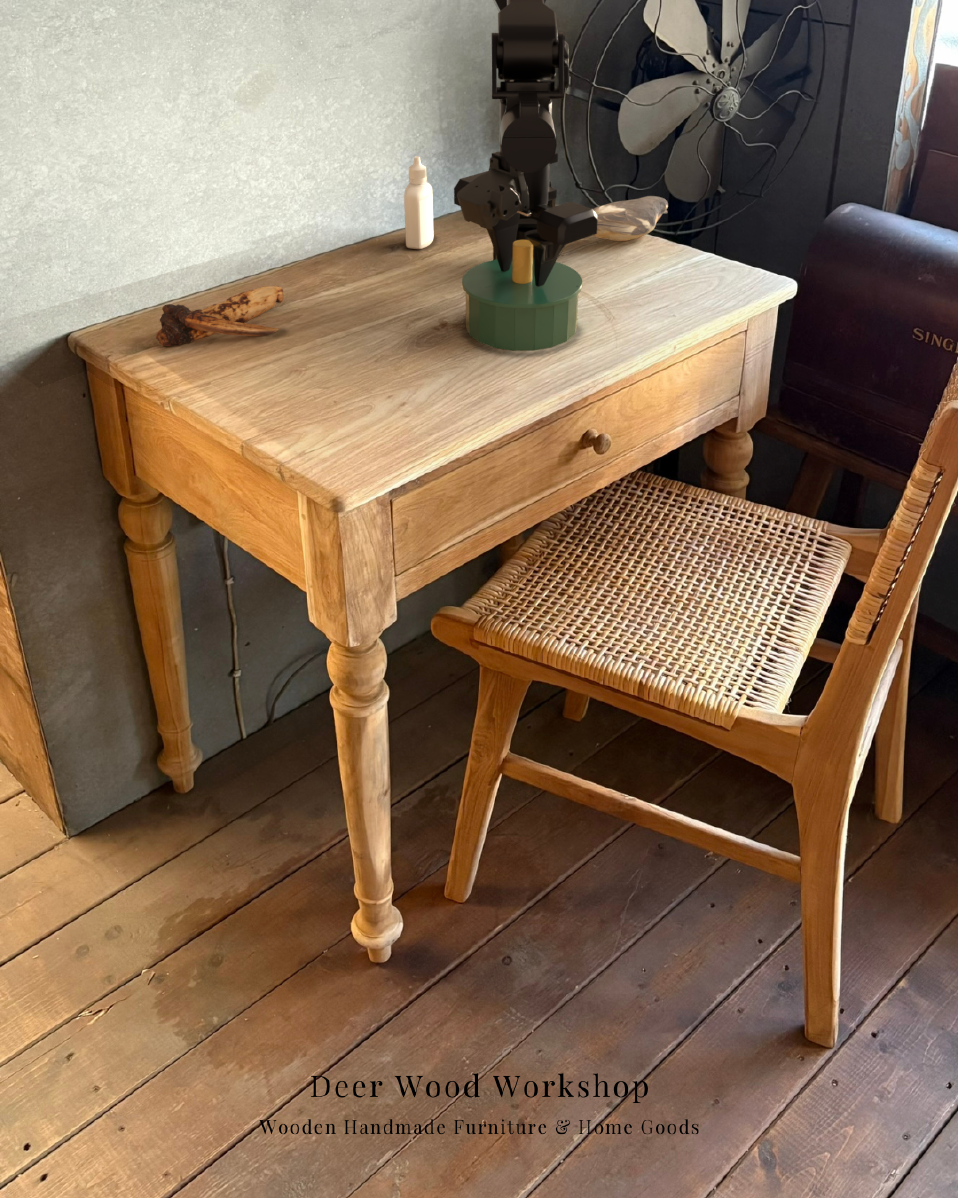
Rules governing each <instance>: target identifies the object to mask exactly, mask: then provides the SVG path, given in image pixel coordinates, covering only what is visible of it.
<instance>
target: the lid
mask: <svg viewBox="0 0 958 1198" xmlns="http://www.w3.org/2000/svg"><path fill="white" fill-rule="evenodd" d="M583 282H584V281H583V277H582V276H581V275H580V273H579V272H578V271H577V270H576V269H574V268H572V267H571V266H570V265H569V266H568V265H566V264H564V263H561V262H558V261H556V263H555V264H554V266H553V268H552V270H551V272H550V274H549V276H548V278H547V280H546V282H545V284H544V285H542V286H540V287H537V286H536V285H535V276H534V258H533V244H532V243H531V242H530V241H529V240H517V241H514V242H513V257H512V262H511V266H510V269H509V270H508V271H505V272H503V271H501V269H500V266H499V263H498V260H493V259H492V260H488V261H484V262H481V263H479V264H476V265H475V266H472V267H471V268H469V269H468V270H467V271H466V272H465V273H464V274H463V276H462V278H461V286H462V289H463V291H464V292H465V294H466V293H467V294H468V295H469V296H471V297H472V298H474V299H476V300H478V301H480V302H483V303H486V304H490V305H494V306H499V307H506V308H518V309H529V308H541V307H548V306H553V305H557V304H560V303H563V302H566V301H568V300H570V299H572V298H574V297H575V296H576V295H578V296H579V294H580V293H581V291H582V289H583Z"/></svg>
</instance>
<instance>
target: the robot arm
mask: <svg viewBox="0 0 958 1198" xmlns="http://www.w3.org/2000/svg"><path fill="white" fill-rule="evenodd" d="M492 2H493V3H494V6H495V7H496V9H497V11H498V13H497V32H491V39H490V40H491V41H490V42H491V44H490V49H491V50H490V51H491V52H490V53H491V54H490V56H491V59H490V60H491V61H490V62H491V66H490V67H491V71H490V73H491V100H499V149H498V151H495V152H492V153H491V157H490V158H489V168H488V170H486V171H483V172H479V173H475V174H472V175H468V176H465V177H461V178H459V179H458V181H457V183H456V184H455V186H454V188H453V204H454V205H456V206H458V207H460V209H461V210H460V211H461V213H462V216H463V220H464V221H465V222H468V223H470V222H471V223H473V224H476V225H477V226H479V227H480V228H483V229H486V232H487V234H488V236H489V239H490V241H491V245H492V260H498V263H499V266H500V269H501V271H503V272H505V271H508V270H509V269H510V266H511V262H512V257H513V242H514V241H517V240H529V241H530V242H531V243H532V244H533V258H534V276H535V285H536V286H537V287H540V286H542V285H544V284H545V282H546V280H547V278H548V276H549V274H550V272H551V270H552V268H553V266H554V264H555V263H556V262H558V258H559V257H560V255H561V253H562V251H563V250H564V248H565V247H566V246H567V245H569V244H571V243H574V242H579V241H580V240H583V239H586V238H590V237H592V236H593V235H595V234H597V222H598V215H597V214H596V213H595V212H594V210H593V209H594V208H590V207H587V206H584V205H582V204H580V203H576V202H575V201H567V202H564V203H562V204H558V205H556V199H557V197H558V196H557V195H558V193H557V192H558V189H557V188H553V186H552V181H550V178H551V165H552V164H556V163H558V162H559V152H557V143H558V142H557V135H556V130H555V129H556V128H555V125H554V120H553V100H564V99H565V98H564V97H565V90H564V89H569V86H570V84H569V83H570V59H569V58H570V55H569V52H570V51H569V50H570V49H569V44H568V42H567V41H566V35H564V32H558V22H557V13H556V11H554V10H553V9H552V8H550V7H549V6H548V5H546V4H545V3H547V0H492ZM555 78H556V82H555V81H554V79H555ZM497 79H498V80H500V83H499V86H498V83H497V81H498V80H497ZM555 84H556V85H557V86H556V85H555Z"/></svg>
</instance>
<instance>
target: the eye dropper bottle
mask: <svg viewBox="0 0 958 1198" xmlns="http://www.w3.org/2000/svg"><path fill="white" fill-rule="evenodd" d="M427 179H428V178H427V166H425V165H424V164H422V162H421V157H420V156H419V155H417V156H416V155H415V156H414V159H413V164H411V165H409V166H408V182H409V183H408V184H407V186H406V188H405V190H404V194H403V199H404V200H403V201H404V202H403V203H404V204H403V205H404V206H403V207H404V231H405V246H406V248H408V249H412V250H413V249H414V250H422V249H425V248H427V247H428V246H430V245H431V244H432V243H433V241H434V235H435V233H434V205H433V204H434V199H433V196H434V195H433V187H432V184H430V183H429V182H428V180H427Z"/></svg>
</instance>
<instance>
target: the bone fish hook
mask: <svg viewBox="0 0 958 1198" xmlns="http://www.w3.org/2000/svg"><path fill="white" fill-rule="evenodd" d="M284 300H285V297H284V289H283V288H282V287H281V286H280V285H265V286H261V287H257V288H254V289H250V290H246V291H242V292H240V293H238V294H235V295H233V296H230V297H229V298H227V299H225V300H222V301H221V302H219V303H215V304H212V305H209V306H207V307H205V308H203V309H202V308H197V309H194V310H191V309H190V308H189V307H187V306H185V305H183V304H172V303H171V304H170V303H168V304H164V305H163V306H162V309H161V310H162V314H161V316H160V318H159V322H160V325H161V328H160V329H159V330H158V331H157V332H156V335H155V338H156V340H157V342H158V343H159V344H160V345H161V346H163V347H177V346H178V347H179V346H183V345H187V344H188V345H189V344H191V343H193V342H195V341H197V340H198V339H202V338H207V337H211V336H212V335H214V334H222V335H229V336H230V335H231V336H246V337H264V336H268V335H272V334H274V333H275V332H278V331H279V329H280V328H279V327H271V326H265V325H262V324H253V323H247V322H248V321H250V320H252V319H254V318H256V317H258V316H260V315H262V314H263V313H266V312H267V311H269V310H271V309H273V308H274V307H276V306H277V303H278V304H281V303H282V302H283V301H284Z"/></svg>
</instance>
